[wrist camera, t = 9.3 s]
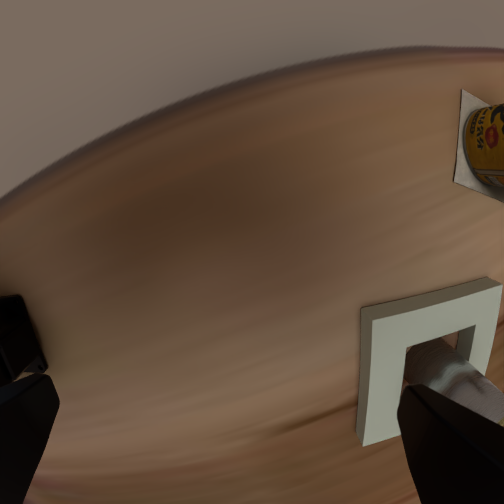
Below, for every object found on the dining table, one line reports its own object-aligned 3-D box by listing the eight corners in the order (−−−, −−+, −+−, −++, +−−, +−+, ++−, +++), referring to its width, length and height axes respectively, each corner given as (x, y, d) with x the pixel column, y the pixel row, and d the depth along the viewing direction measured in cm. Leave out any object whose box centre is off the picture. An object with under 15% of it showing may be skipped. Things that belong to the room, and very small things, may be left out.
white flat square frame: (355, 431, 23) (362, 446, 21) (360, 308, 20) (372, 320, 18) (465, 391, 23) (476, 402, 21) (487, 276, 21) (502, 284, 19)
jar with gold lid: (407, 390, 22) (478, 489, 11) (396, 355, 21) (483, 462, 10) (448, 363, 22) (530, 447, 11) (441, 325, 21) (541, 410, 10)
